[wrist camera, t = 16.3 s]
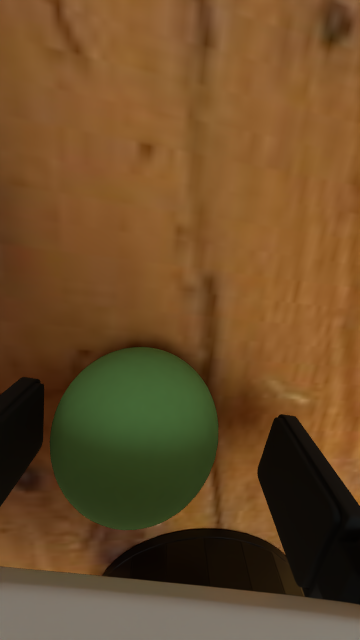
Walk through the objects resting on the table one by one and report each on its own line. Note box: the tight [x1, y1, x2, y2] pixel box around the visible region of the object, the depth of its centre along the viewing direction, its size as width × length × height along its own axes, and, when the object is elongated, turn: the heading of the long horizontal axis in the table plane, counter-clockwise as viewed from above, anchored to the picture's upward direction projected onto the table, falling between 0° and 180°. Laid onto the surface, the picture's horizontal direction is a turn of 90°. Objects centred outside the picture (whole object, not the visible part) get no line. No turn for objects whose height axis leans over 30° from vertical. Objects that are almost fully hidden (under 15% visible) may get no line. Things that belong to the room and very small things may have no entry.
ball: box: [50, 347, 218, 530], centre depth 9 cm, size 6×6×6 cm
